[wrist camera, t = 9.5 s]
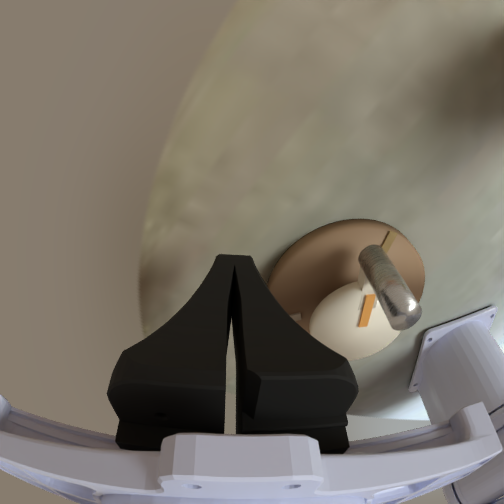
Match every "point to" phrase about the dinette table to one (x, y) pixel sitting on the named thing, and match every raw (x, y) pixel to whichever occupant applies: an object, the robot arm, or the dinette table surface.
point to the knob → (366, 309)
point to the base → (338, 264)
